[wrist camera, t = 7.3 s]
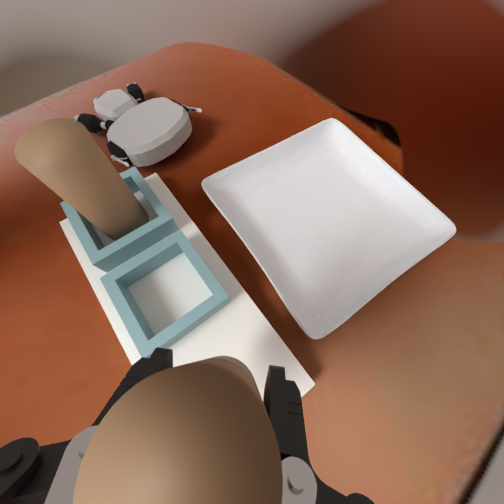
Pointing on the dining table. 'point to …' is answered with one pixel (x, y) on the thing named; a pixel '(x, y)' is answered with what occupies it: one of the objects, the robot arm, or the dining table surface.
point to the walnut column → (185, 441)
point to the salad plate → (327, 222)
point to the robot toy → (139, 125)
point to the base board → (150, 259)
